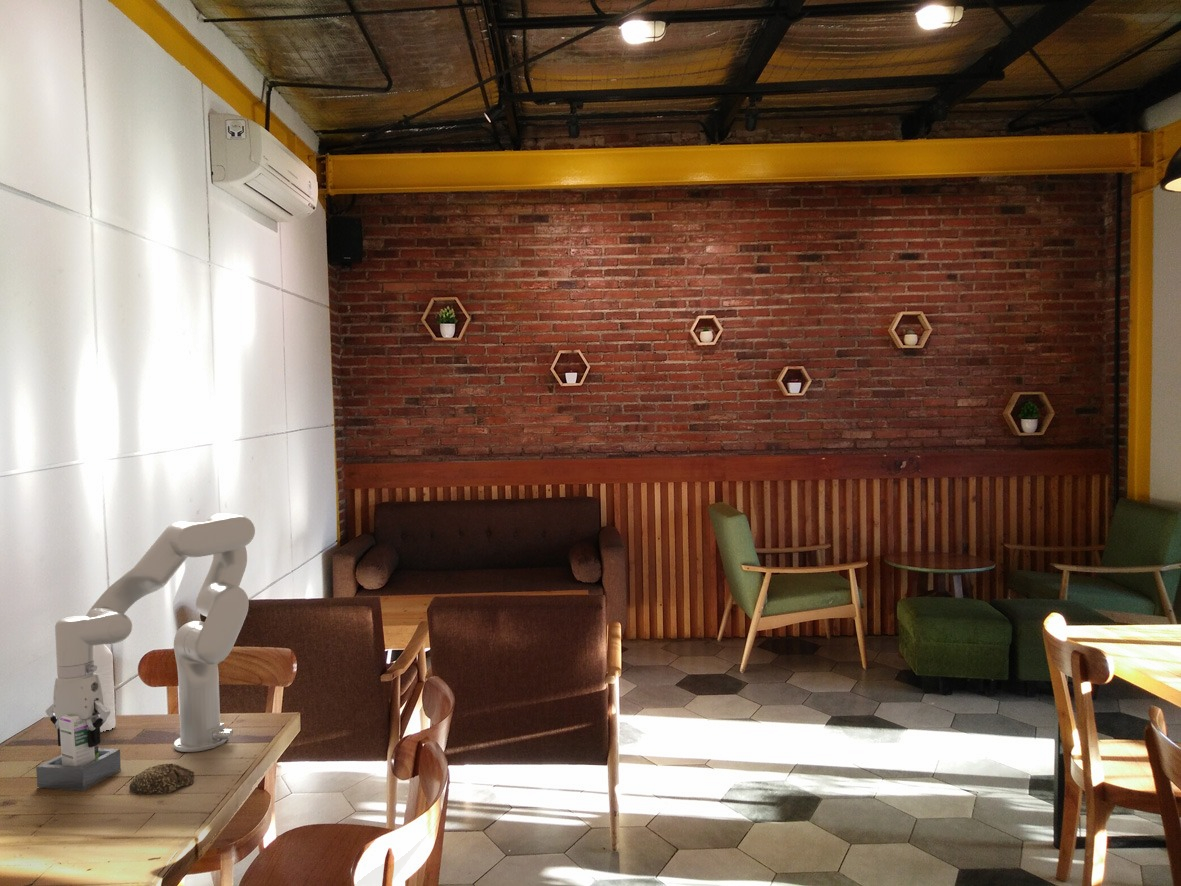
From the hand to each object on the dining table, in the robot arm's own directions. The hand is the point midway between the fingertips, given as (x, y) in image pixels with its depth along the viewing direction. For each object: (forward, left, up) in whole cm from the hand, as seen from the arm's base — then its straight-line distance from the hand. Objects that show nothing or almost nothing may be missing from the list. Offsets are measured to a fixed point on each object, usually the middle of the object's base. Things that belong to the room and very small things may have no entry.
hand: (79, 744), depth 204 cm
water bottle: (+19, -30, -8) cm, 36 cm away
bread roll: (-22, 0, -9) cm, 24 cm away
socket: (0, 0, -8) cm, 8 cm away
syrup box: (0, 0, -7) cm, 7 cm away
